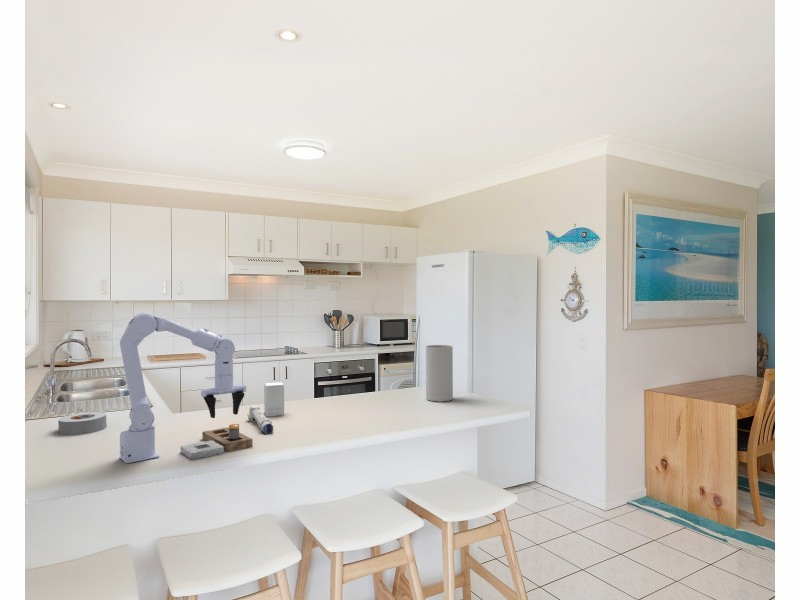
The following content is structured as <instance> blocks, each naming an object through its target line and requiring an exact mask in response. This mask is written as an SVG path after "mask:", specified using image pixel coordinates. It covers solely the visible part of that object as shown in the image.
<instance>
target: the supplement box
mask: <svg viewBox="0 0 800 600" xmlns="http://www.w3.org/2000/svg"><path fill="white" fill-rule="evenodd" d="M263 406H264V407H263V409H264V411H263V414H264V416H265V417H276V416H277V415H278V416H285V383H282V382H281V381H278V382H269V383H268V382H266V383H263ZM278 416H277V417H278Z"/></svg>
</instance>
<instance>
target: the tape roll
mask: <svg viewBox="0 0 800 600" xmlns="http://www.w3.org/2000/svg"><path fill="white" fill-rule="evenodd" d="M57 422H58V424H57V425H58V434H60V435H64V436H75V435H76V436H77V435H85V434H92V433H97V432H100V431H103V430H105V429H106V428H107V427H108V426H107V425H108V424H107V414H106V413H105V412H99V411H91V412H89V411H87V412H80V413H74V414H68V415H65V416H62V417H60V418H59V419H58V421H57Z"/></svg>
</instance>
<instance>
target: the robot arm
mask: <svg viewBox="0 0 800 600" xmlns="http://www.w3.org/2000/svg"><path fill="white" fill-rule="evenodd" d="M154 332H158V333H160V332H170V333H172V334H175V335H178V336H181V337H183V338H186V339H189V340H190V341H191V343H192V345H193V346H195V347H198V348H201V349H203V350H206V351H208V352H211V353H215V354H214V356H215V360H214V387H212V388H206V389H201V390H200V397H203V400H204V402H205V404H206V406H207V408H208V411H209V414H210V415H209V416H210V418H212V419H215V418H216V402H217V397H215V396H216V395H217V396H220V395H226V394H227V395H228V394H231V397H232V414H233V415H238V413H239V409H240V406H241V403H242V400H243V399H244V397H245V393H246V392H247V385H243V384H241V385H234V360H233V359H234V356H233V354H234V353H235V351H236V347H235V344H234V342H233V341H232V340H231V339H228V338H226V337H223V335H222V334H216V333H213V332H211V331H209V329H207V328H206V327H205V328H197V329H192V328H189V327H187V326H185V325H182V324H180V323H177V322H175V321H173V320H171V319H167V318H165V317H161V316H156V315H151V314H149V313H146V312H145V313H144V312H143V313H137V314H136V315H135V316H134V317H133V318H132V319H130V320H129V322H128V324H127V326H126V328H125V330H124V333H123V334H122V336H121V338H120V339H119V347H120V352H121V357H122V363H123V367H124V368H123V369H124V372H125V379H126V384H127V385H126V386H127V389H128V394H129V400H130V407H131V408H130V411H129V419H130V422H131V424H130V426H128V429H127V430H124V431H123V430H122V431H121V432H120V433H119V459H121V460H122V461H123V462H124V463H125V464H130V463H134V462H140V461H144V460H151V459H154V458H155V459H156V458H159V457H160V454H158V453H157V452H156V434H155V433H156V431H155V430H156V428H155V427H156V426H155V425H156V424H155V415H154V412H153V411H152V408H151V407H150V406H149V402H148V397H147V391H146V387H145V383H144V382H145V381H144V376H143V372H142V366H141V360H140V354H139V350H138V346H139V345H140V343H142V342H143V340H144V339H145V338H146V337H148V336H149V335H151V334H153V333H154Z"/></svg>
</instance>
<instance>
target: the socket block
mask: <svg viewBox="0 0 800 600" xmlns="http://www.w3.org/2000/svg"><path fill="white" fill-rule="evenodd" d="M224 453H225V451H224V447H223V446H221V445H220V444H218V443H216V442H214V441H212V440H211V441H205V440H204V441H200V442H196V443H191V444H186V445H180V454H182V455H184V457H187V458H188V459H190V460H191V461H194V460H198V459H202V458H207V457H213V456H218V455H221V454H224Z"/></svg>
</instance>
